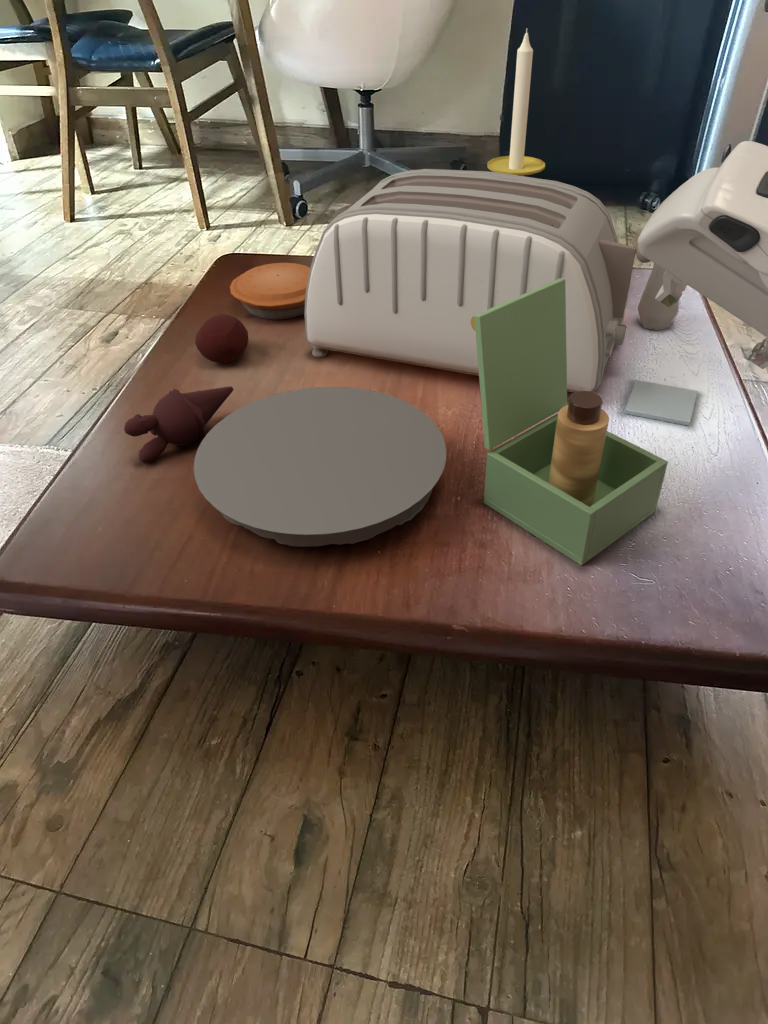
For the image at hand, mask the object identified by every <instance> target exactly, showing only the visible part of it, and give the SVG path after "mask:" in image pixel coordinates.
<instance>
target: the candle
mask: <svg viewBox="0 0 768 1024" xmlns="http://www.w3.org/2000/svg"><path fill="white" fill-rule="evenodd" d="M533 57H534V49H533V47H532V46H531V43H530V37H529V32H528V28H526V29H525V33H524V35H523V39H522V43H521V44H520V46H519V47H518V48H517V52H516V65H515V78H514V91H513V105H512V116H511V117H512V119H511V131H510V143H509V146H510V147H509V155H505V156H498V157H493V158H492V159H489V161H487V166H486V167H487V169H488V170H489V171H490V172H495V173H503V174H510V175H517V176H524V177H525V176H531V175H534V174H539V173H541V172H542V171H543V170H545V168H546V162H545V161H543V160H542V159H540V158H536V157H532V156H525V151H526V138H527V137H526V136H527V127H528V125H527V124H528V115H529V103H530V90H531V81H532V68H533V66H532V65H533Z"/></svg>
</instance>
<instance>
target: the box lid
mask: <svg viewBox="0 0 768 1024" xmlns="http://www.w3.org/2000/svg"><path fill="white" fill-rule="evenodd" d="M471 326H472V329H473V330H474V331H475V332H476V343H477V356H478V369H479V376H478V380H479V392H480V405H481V406H480V407H481V417H482V418H481V419H482V420H481V421H482V430H483V443H484V449H486V450H489V451H492V450H494V449H495V448H497V447H499V446H501V445H502V444H504V443H506V442H508V441H509V440H511V439H513V438H515V437H517V436H518V435H520V434H522V433H524V432H525V431H527V430H529V429H531V428H532V427H534V426H536V425H538V424H539V423H541V422H543V421H545V420H547V419H548V418H550V417H552V416H554V415H555V414H557V413H558V412H559V410H560V409H561V408H562V407H564V406H566V405H568V391H567V359H566V292H565V279H561V278H559V279H557V280H554V281H552V282H550V283H548V284H545V285H543V286H541V287H538V288H536V289H534V290H532V291H529V292H527V293H525V294H522V295H520V296H518V297H516V298H513V299H511V300H509V301H506V302H504V303H502V304H500V305H497V306H495V307H493V308H490V309H488V310H486V311H484V312H481V313H479V314H477V315H475V316H473V317H472V318H471Z"/></svg>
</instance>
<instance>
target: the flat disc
mask: <svg viewBox="0 0 768 1024" xmlns="http://www.w3.org/2000/svg"><path fill="white" fill-rule="evenodd" d="M446 462H447V446H446V441H445V438H444V436H443V433H442V432H441V430H440V429H439V427H438V425H437V424H436V423H435V422H434V421H433V420H432V419H431V417H430V416H428V415H427V414H426V413H425V412H423V411H422V410H421V409H419V408H418V407H417V406H415V405H413V404H412V403H409V402H407V401H406V400H403V399H401V398H398V397H395V396H393V395H391V394H387V393H383V392H380V391H375V390H370V389H366V388H365V389H364V388H358V387H351V386H349V387H348V386H316V387H306V388H298V389H292V390H287V391H284V392H279V393H275V394H272V395H269V396H266V397H262V398H260V399H257V400H255V401H253V402H250V403H247V404H245V405H243V406H242V407H239V408H238V409H235V410H234V411H233V412H231V413H229V414H228V415H226V416H225V417H223V418H222V419H221V420H220V421H218V422H217V423H216V424H215V425H214V426H213V427H212V428H211V429H210V430H209V431H208V432H207V433H206V436H205V437H204V438H202V440H201V442H200V444H199V445H198V447H197V450H196V453H195V456H194V460H193V475H194V480H195V483H196V485H197V487H198V490H199V491H200V493H201V495H202V496H203V497H204V498H205V500H206V501H207V502H208V503H210V504H211V505H212V507H214V508H215V510H217V511H218V513H219V514H220V515H221V516H222V517H223V518H224V520H226V521H227V522H228V523H231V524H234V525H235V526H242V527H243V528H245V529H247V530H249V531H250V532H252V533H253V534H256V535H257V536H259V537H260V538H265V539H273V540H274V541H276V543H278V544H281V545H287V546H289V547H296V548H297V547H299V548H300V547H302V548H303V547H308V548H310V547H322V546H330V545H339V546H340V545H344V544H350V545H353V544H356V543H359V542H362V541H368V540H370V539H372V538H374V537H375V536H376V535H380V534H382V533H385V532H387V531H389V530H391V529H393V528H395V527H396V526H397V525H398V526H401V525H403V524H404V523H405V522H409V521H411V520H413V518H414V517H415V516H416V515H417V514H418V513H420V512H421V511H422V510H423V509H424V507H425V506H426V504H427V503H428V501H429V499H430V497H431V494H432V492H433V488H434V486H436V484H437V483H438V482H439V480H440V478H441V476H442V474H443V473H444V469H445V466H446Z"/></svg>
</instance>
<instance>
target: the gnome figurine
mask: <svg viewBox="0 0 768 1024" xmlns="http://www.w3.org/2000/svg"><path fill="white" fill-rule="evenodd" d="M233 392H234V387H232V386H222V387H217V388H209V389H203V390H196V391H189V392H184V393H183V392H182V393H181V392H180V390H178V389H177V388H173V389H172V390H169V391H168V393H167V394H165V395H163V396H162V397H161V398H159V399H158V401H157V403H156V404H155V406H154V408H153V412H152V414H145V415H141V414H140V413H138V414H135V415H134V416H133V417H131V418H129V419H128V420H127V421H126V422H125V424H124V427H123V431H124V433H125V434H126V435H128V436H131V437H139V436H142V435H146V434H148V433H149V432H150V433H151V435H153V436H156V437H154V438H152V439H151V440H149V441H147V442H146V443H145V444H144V445H143V447H141V448H140V450H139V451H138V452H139V453H138V460H139V461H140V462H142V463H143V464H146V463H151V462H153V461H155V460H157V459H158V458H159V457H160V456H161V455H162V454H163V453H164V452H165V450H166V449H167V447H168V446H169V444H171V445H174V446H175V445H176V446H187V445H190V444H191V443H194V442H195V441H197V440H198V439H204V438H205V436H206V435H207V432H206V428H205V426H206V425H207V424H208V423H209V422H210V420H211V419H212V418H213V416H214V415H215V414H216V413H217V411H218V410H219V409H220V408H221V406H222V405H223V404H224V403H225V401H226V400H227V399H228V397H230V395H231V394H232V393H233Z"/></svg>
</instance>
